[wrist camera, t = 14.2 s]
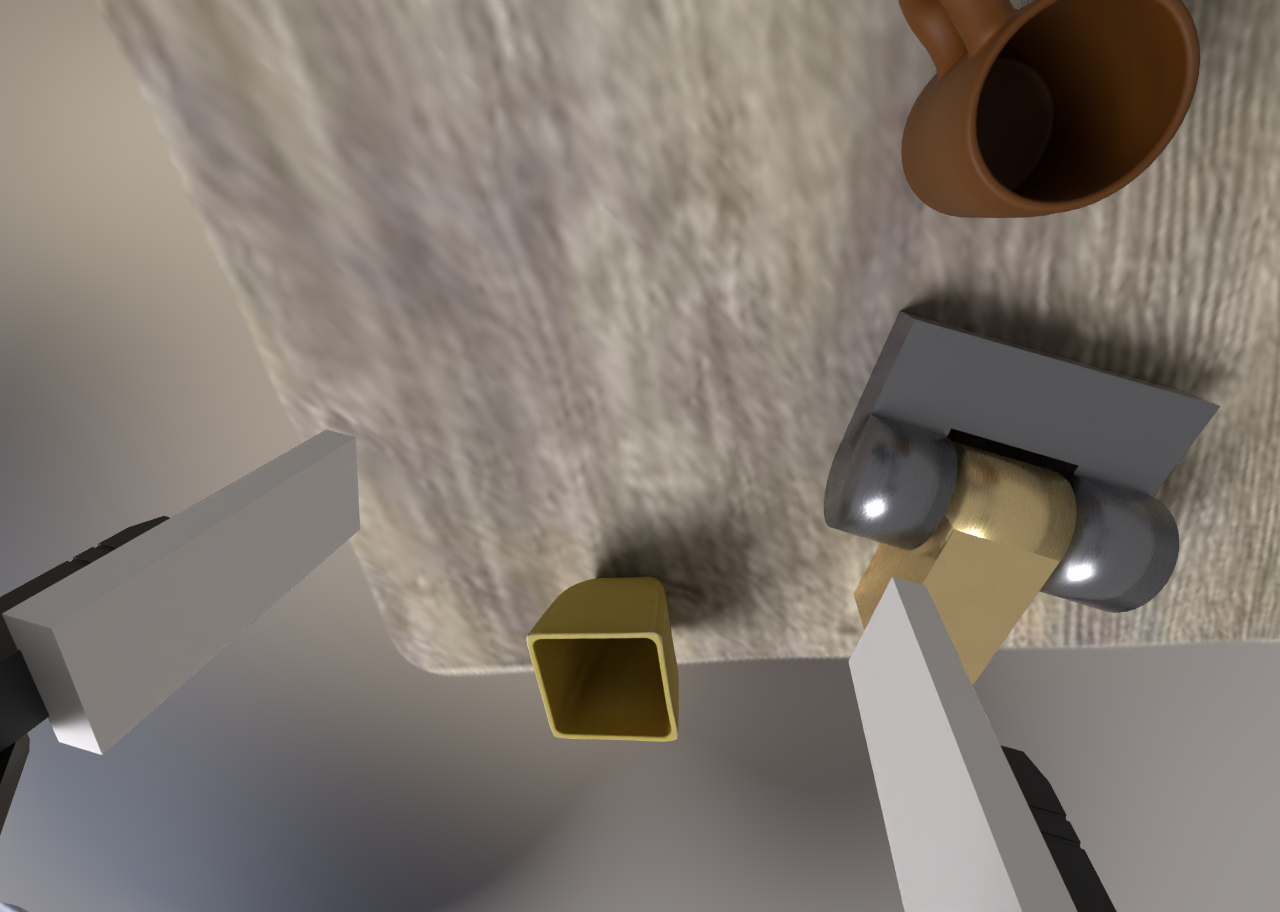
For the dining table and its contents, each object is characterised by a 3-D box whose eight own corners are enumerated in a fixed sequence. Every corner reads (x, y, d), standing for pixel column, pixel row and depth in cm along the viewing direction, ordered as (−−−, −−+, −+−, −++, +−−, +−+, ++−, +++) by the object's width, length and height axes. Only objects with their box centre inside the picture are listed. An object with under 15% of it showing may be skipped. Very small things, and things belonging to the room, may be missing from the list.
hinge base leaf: (899, 310, 32) (939, 333, 26) (1178, 389, 31) (1290, 433, 25) (817, 493, 37) (833, 550, 31) (1054, 565, 36) (1120, 639, 30)
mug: (807, 81, 28) (837, 20, 20) (937, -69, 25) (1036, -215, 17) (958, 249, 30) (1043, 260, 22) (1095, 128, 27) (1257, 86, 19)
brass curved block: (942, 425, 34) (988, 472, 28) (1032, 451, 34) (1099, 505, 27) (853, 593, 40) (875, 665, 33) (930, 617, 39) (966, 694, 33)
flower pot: (564, 556, 43) (522, 635, 34) (676, 551, 41) (660, 634, 33) (586, 646, 46) (552, 739, 38) (690, 645, 44) (679, 742, 36)
